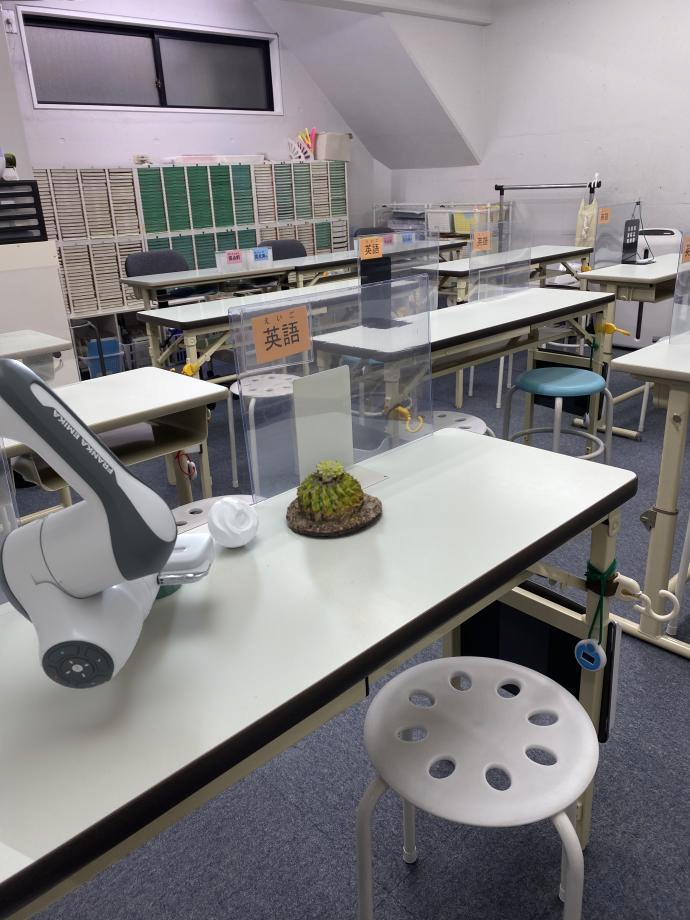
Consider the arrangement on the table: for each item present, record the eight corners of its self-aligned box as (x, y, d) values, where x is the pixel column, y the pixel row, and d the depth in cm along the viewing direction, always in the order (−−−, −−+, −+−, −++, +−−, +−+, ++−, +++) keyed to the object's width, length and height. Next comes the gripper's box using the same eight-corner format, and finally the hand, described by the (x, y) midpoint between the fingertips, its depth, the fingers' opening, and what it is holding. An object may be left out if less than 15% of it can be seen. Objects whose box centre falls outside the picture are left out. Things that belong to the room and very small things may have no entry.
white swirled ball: (231, 561, 104) (225, 515, 101) (200, 547, 108) (193, 503, 105) (269, 540, 109) (264, 496, 106) (238, 528, 114) (232, 485, 111)
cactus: (348, 547, 105) (344, 489, 102) (266, 527, 114) (260, 473, 110) (399, 503, 119) (398, 451, 115) (323, 488, 127) (319, 439, 123)
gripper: (203, 556, 82) (219, 507, 95) (33, 567, 82) (72, 516, 95) (210, 600, 84) (225, 547, 97) (44, 612, 84) (81, 556, 97)
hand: (148, 532), depth 96 cm, fingers closed on chess piece, 2 cm apart
